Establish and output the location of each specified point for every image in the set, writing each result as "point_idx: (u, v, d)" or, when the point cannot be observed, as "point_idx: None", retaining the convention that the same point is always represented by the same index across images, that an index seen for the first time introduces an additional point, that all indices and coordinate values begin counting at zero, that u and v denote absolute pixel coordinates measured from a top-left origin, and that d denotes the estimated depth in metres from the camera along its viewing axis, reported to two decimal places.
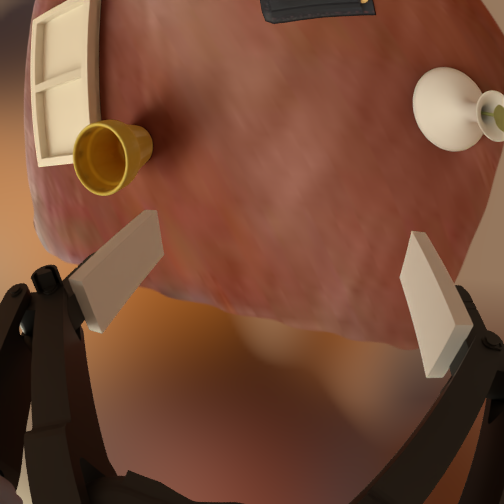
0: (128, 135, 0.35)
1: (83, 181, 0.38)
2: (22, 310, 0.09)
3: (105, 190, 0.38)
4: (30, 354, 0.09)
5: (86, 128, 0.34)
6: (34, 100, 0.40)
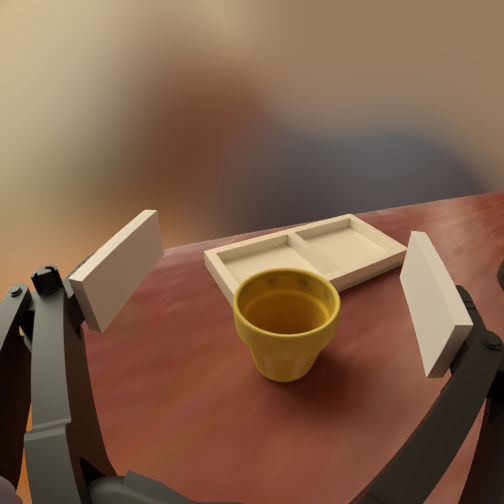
0: (335, 327, 0.27)
1: (242, 287, 0.31)
2: (22, 310, 0.09)
3: None
4: (30, 354, 0.09)
5: (316, 275, 0.32)
6: (278, 235, 0.54)
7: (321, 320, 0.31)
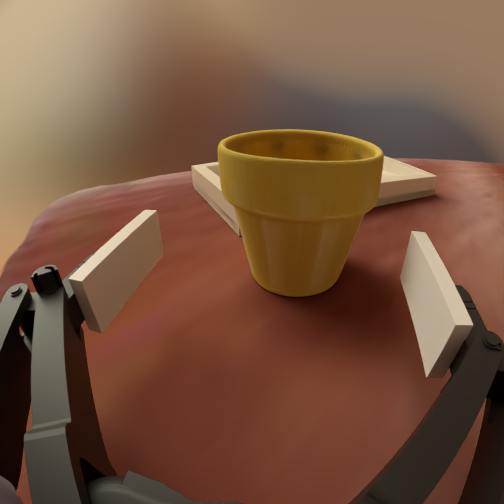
0: (379, 181, 0.16)
1: (234, 139, 0.20)
2: (22, 310, 0.09)
3: None
4: (30, 354, 0.09)
5: (340, 135, 0.21)
6: None
7: None
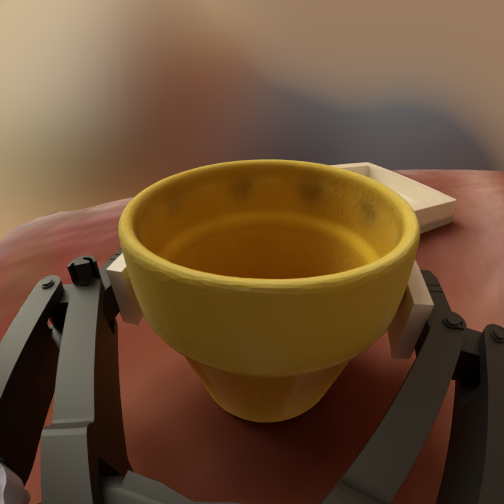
0: None
1: (163, 186, 0.12)
2: (52, 304, 0.09)
3: None
4: (57, 349, 0.09)
5: (341, 170, 0.13)
6: None
7: None
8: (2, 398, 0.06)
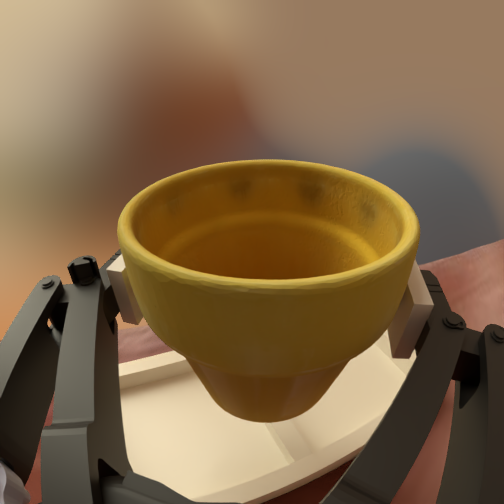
0: None
1: (162, 186, 0.12)
2: (52, 304, 0.09)
3: None
4: (57, 349, 0.09)
5: (340, 170, 0.13)
6: None
7: None
8: (2, 398, 0.06)
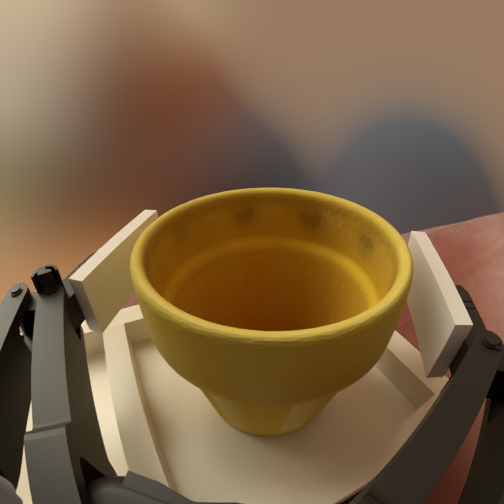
0: None
1: (170, 218, 0.13)
2: (22, 310, 0.09)
3: (148, 281, 0.10)
4: (30, 354, 0.09)
5: (341, 201, 0.14)
6: None
7: (354, 303, 0.13)
8: None
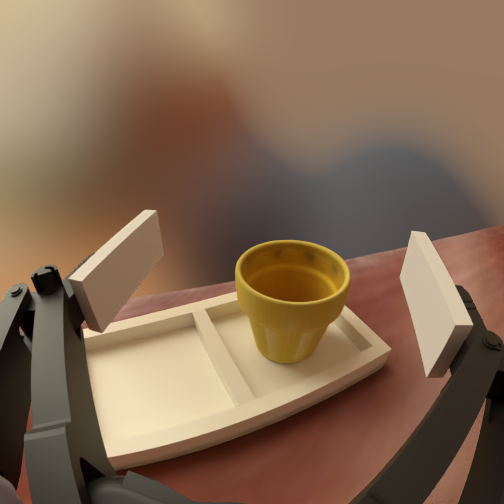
0: (344, 300, 0.26)
1: (246, 256, 0.29)
2: (22, 310, 0.09)
3: None
4: (30, 354, 0.09)
5: (324, 248, 0.30)
6: (178, 313, 0.33)
7: (328, 296, 0.30)
8: None
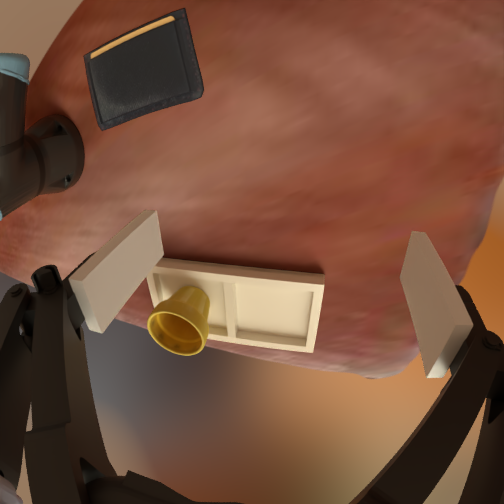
0: (158, 306, 0.48)
1: (194, 352, 0.50)
2: (22, 310, 0.09)
3: None
4: (30, 354, 0.09)
5: (152, 336, 0.50)
6: (243, 340, 0.57)
7: None
8: None
